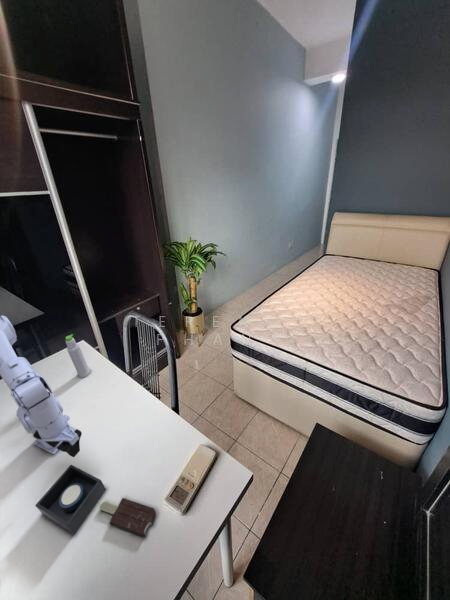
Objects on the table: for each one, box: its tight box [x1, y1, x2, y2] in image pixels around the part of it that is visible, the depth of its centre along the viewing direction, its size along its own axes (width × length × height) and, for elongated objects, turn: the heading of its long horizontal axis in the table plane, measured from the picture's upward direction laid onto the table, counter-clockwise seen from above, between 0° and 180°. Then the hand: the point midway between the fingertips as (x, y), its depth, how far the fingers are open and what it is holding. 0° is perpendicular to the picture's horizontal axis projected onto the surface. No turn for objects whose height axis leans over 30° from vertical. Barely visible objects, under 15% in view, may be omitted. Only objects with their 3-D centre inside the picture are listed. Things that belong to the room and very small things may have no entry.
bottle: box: [65, 333, 91, 378], centre depth 102 cm, size 4×4×20 cm
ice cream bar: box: [99, 497, 157, 538], centre depth 62 cm, size 5×2×15 cm
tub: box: [34, 464, 107, 536], centre depth 64 cm, size 11×10×5 cm
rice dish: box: [59, 483, 86, 512], centre depth 65 cm, size 6×6×3 cm
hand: (66, 448), depth 69 cm, fingers open, 7 cm apart
